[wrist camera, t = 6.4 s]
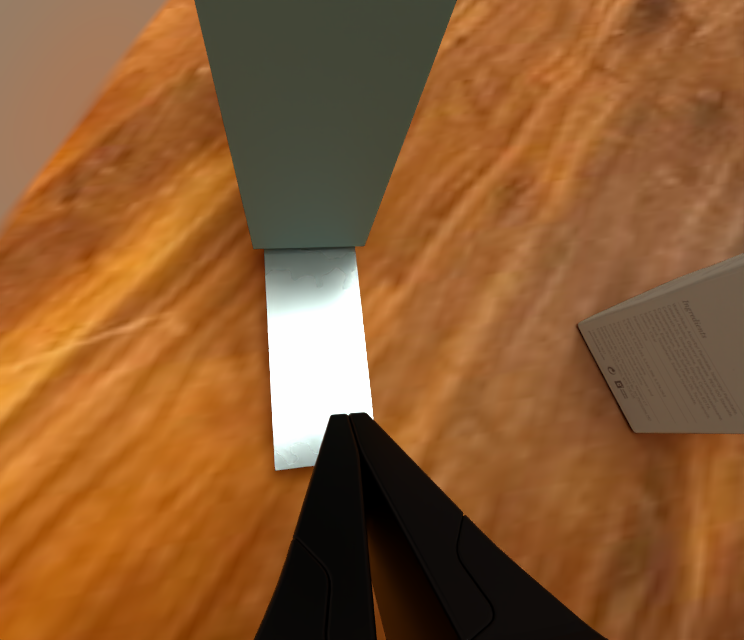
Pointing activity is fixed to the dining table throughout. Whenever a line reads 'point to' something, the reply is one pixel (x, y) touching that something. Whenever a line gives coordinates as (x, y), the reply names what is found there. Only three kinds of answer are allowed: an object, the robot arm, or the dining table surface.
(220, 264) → the dining table surface
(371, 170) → the tall teal pillar
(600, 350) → the small box
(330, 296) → the rail
